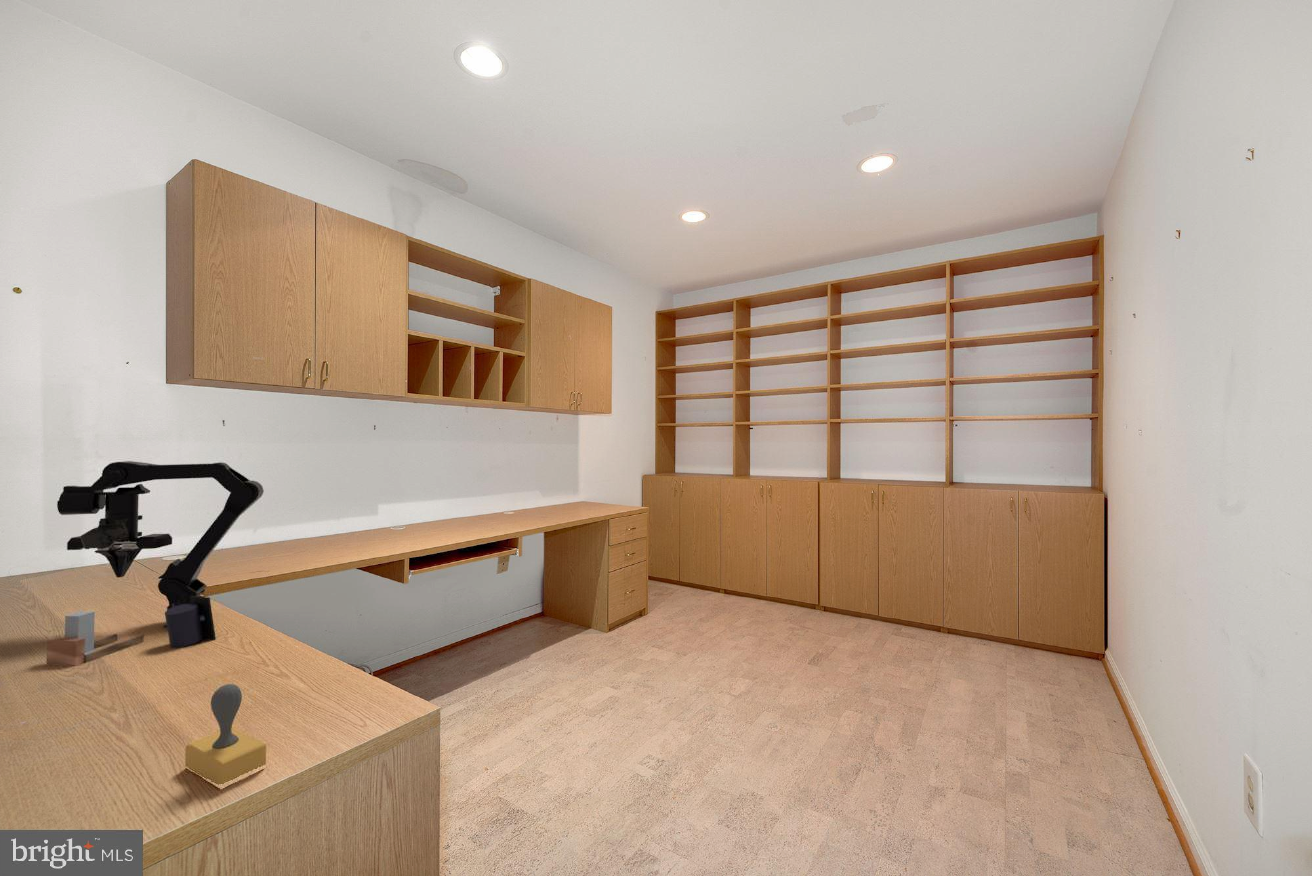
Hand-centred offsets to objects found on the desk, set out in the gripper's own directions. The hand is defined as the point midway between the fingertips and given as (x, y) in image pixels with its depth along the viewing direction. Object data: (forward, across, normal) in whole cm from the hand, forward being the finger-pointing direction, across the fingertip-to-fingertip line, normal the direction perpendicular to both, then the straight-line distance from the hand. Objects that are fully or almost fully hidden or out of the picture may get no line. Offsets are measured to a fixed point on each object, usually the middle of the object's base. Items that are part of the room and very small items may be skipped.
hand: (120, 577), depth 129 cm
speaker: (+13, +22, -11) cm, 28 cm away
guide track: (+13, +6, -15) cm, 21 cm away
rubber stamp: (+13, +60, -63) cm, 88 cm away
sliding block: (+13, +6, -18) cm, 23 cm away
